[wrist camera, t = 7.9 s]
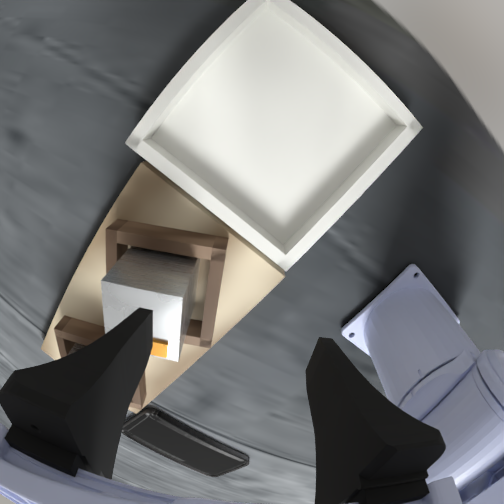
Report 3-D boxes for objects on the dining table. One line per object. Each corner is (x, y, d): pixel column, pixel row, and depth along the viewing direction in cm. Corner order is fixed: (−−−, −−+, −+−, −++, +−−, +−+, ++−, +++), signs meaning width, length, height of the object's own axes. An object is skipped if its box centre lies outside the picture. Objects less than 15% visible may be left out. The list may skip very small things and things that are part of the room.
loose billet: (201, 249, 20) (181, 299, 15) (194, 305, 22) (177, 364, 16) (138, 237, 20) (99, 282, 14) (137, 293, 22) (105, 346, 16)
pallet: (283, 269, 22) (287, 291, 19) (138, 407, 29) (131, 428, 26) (146, 160, 19) (129, 167, 16) (45, 342, 26) (31, 361, 23)
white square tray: (407, 126, 18) (422, 127, 16) (283, 257, 22) (286, 271, 20) (264, -3, 15) (265, -16, 13) (137, 140, 18) (124, 143, 16)
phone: (149, 410, 28) (253, 463, 32) (151, 402, 29) (253, 456, 33) (117, 431, 30) (212, 478, 34) (119, 424, 31) (213, 472, 35)
